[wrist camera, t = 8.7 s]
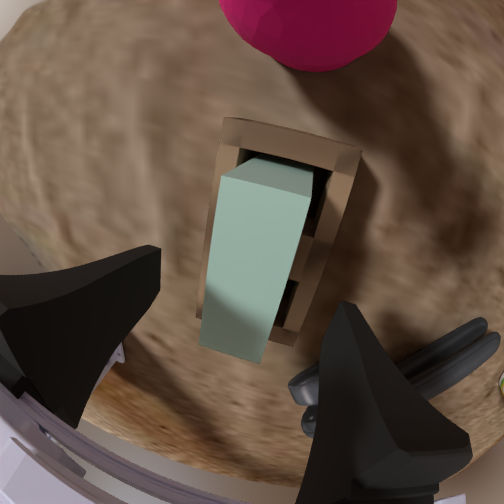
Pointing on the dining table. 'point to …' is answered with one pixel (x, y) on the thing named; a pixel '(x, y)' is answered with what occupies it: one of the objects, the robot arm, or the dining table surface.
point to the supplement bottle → (502, 383)
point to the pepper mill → (311, 29)
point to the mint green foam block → (252, 252)
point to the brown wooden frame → (315, 229)
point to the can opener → (415, 367)
